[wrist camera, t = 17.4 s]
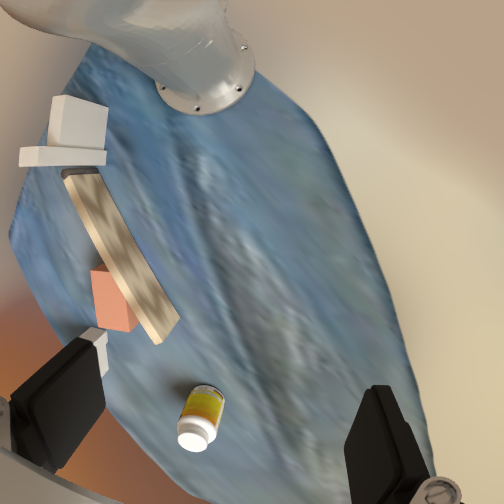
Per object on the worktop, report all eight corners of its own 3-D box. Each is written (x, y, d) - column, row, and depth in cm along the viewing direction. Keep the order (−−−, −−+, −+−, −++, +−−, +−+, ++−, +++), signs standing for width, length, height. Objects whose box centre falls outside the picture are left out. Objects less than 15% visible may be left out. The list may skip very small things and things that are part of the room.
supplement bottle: (187, 382, 45) (167, 426, 36) (223, 384, 45) (209, 430, 35) (193, 409, 47) (176, 453, 37) (227, 411, 46) (215, 457, 36)
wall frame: (94, 108, 37) (27, 91, 24) (111, 107, 37) (46, 87, 23) (96, 365, 47) (52, 414, 33) (111, 370, 47) (68, 421, 33)
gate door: (90, 171, 39) (59, 172, 32) (96, 166, 39) (65, 166, 32) (173, 320, 43) (155, 345, 36) (180, 317, 42) (163, 341, 36)
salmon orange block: (108, 260, 42) (90, 270, 37) (139, 262, 42) (123, 273, 37) (114, 312, 44) (98, 326, 39) (144, 316, 44) (129, 332, 39)
